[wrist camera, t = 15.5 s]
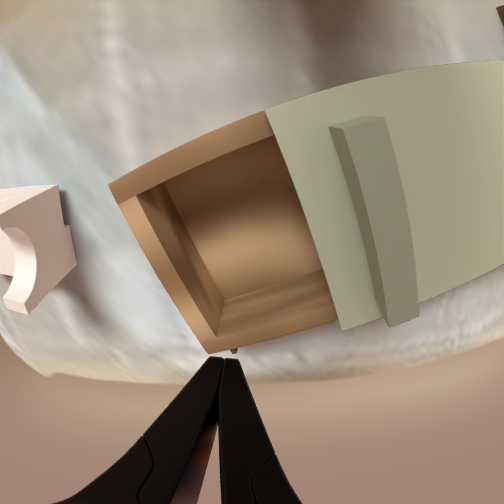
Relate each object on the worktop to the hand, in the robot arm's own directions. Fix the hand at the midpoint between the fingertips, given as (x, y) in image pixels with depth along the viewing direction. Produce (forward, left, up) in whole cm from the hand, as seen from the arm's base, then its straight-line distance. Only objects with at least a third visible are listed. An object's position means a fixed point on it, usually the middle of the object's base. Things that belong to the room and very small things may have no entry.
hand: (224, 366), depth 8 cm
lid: (0, +16, -7) cm, 18 cm away
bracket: (-8, -19, -13) cm, 25 cm away
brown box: (0, +6, -12) cm, 14 cm away
